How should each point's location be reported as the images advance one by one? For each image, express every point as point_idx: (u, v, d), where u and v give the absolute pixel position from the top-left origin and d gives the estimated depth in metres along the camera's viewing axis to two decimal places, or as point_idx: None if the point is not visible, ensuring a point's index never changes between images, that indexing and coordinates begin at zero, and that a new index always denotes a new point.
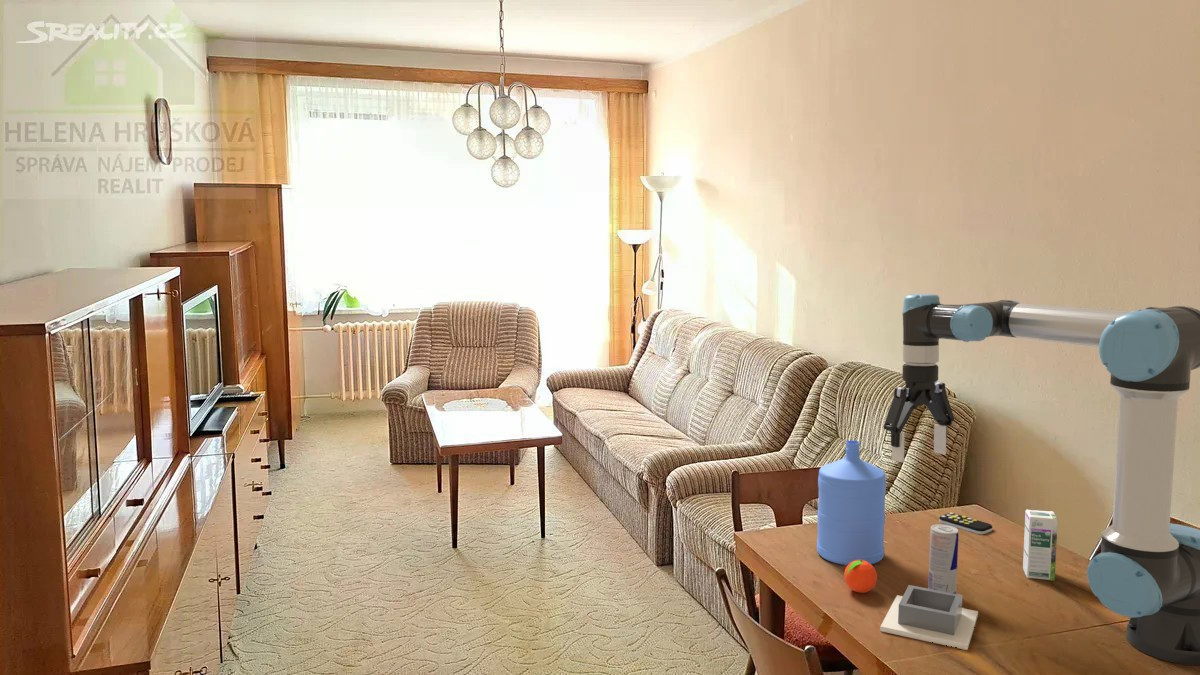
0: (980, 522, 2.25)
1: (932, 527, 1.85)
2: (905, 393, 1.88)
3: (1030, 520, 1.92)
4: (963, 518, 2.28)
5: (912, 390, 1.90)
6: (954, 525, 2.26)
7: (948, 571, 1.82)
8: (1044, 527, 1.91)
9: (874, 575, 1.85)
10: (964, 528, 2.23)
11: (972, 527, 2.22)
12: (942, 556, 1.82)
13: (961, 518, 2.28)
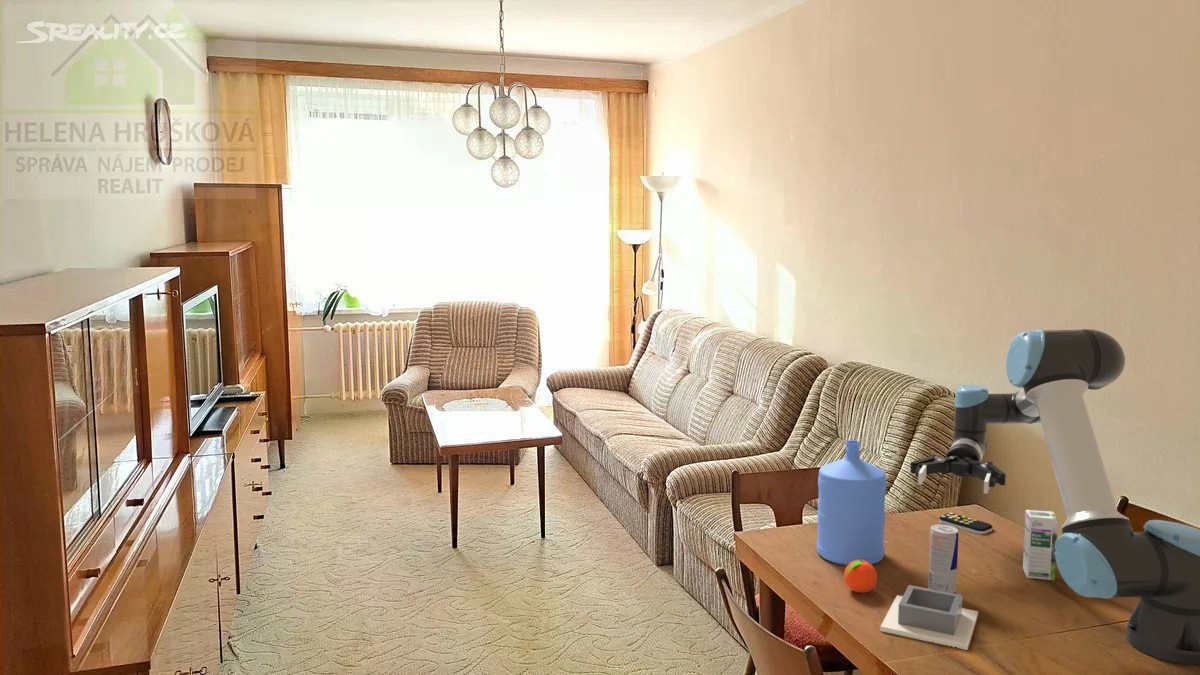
0: (980, 522, 2.25)
1: (932, 527, 1.85)
2: (933, 456, 2.07)
3: (1030, 520, 1.92)
4: (963, 518, 2.28)
5: None
6: (954, 525, 2.26)
7: (948, 571, 1.82)
8: (1044, 527, 1.91)
9: (874, 575, 1.85)
10: (964, 528, 2.23)
11: (972, 527, 2.22)
12: (942, 556, 1.82)
13: (961, 518, 2.28)
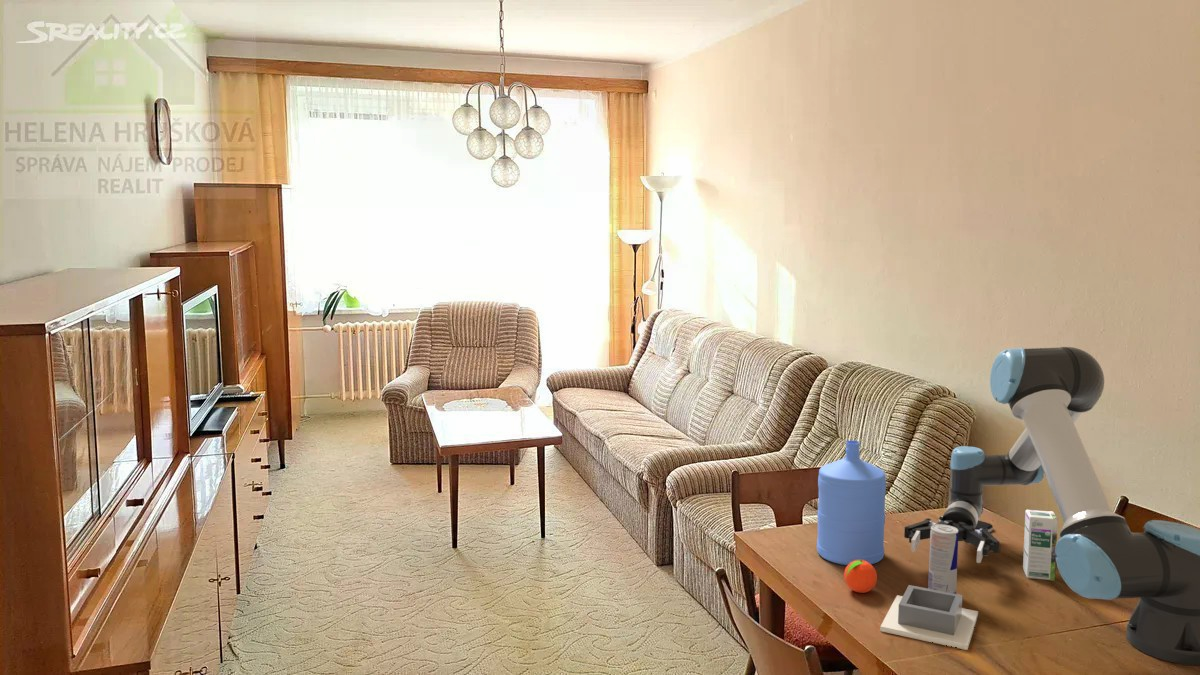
0: (980, 522, 2.25)
1: (932, 527, 1.85)
2: (928, 520, 2.05)
3: (1030, 520, 1.92)
4: None
5: None
6: None
7: (948, 571, 1.82)
8: (1044, 527, 1.91)
9: (874, 575, 1.85)
10: None
11: None
12: (942, 556, 1.82)
13: None
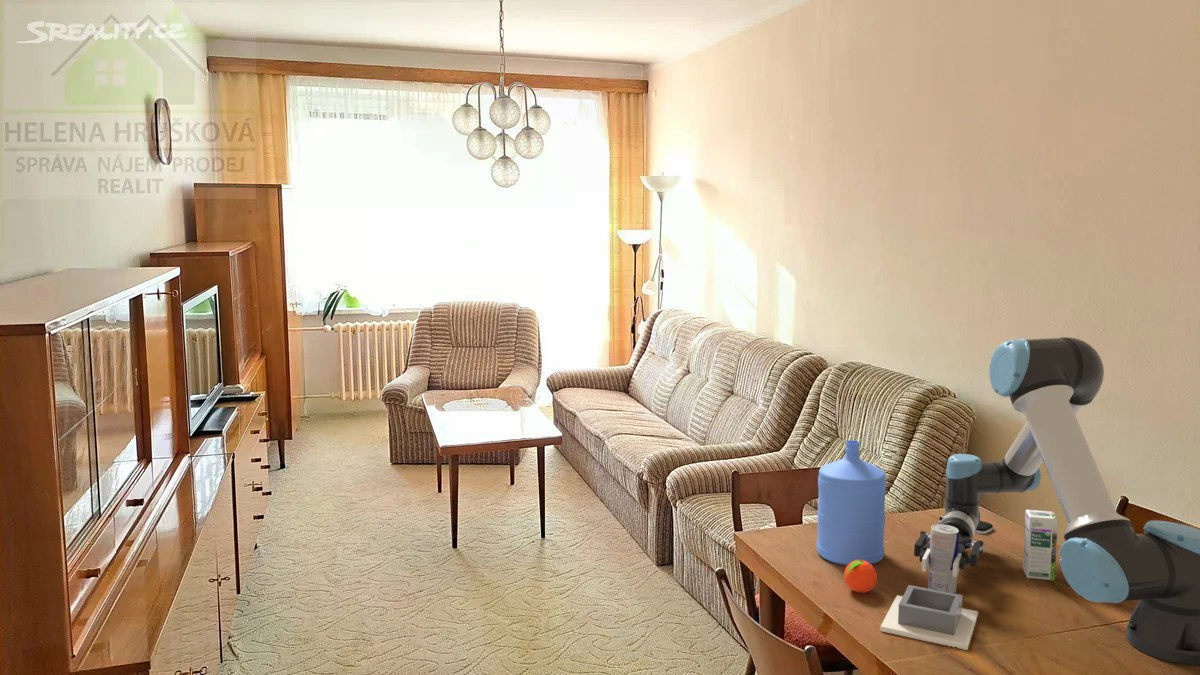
0: (980, 522, 2.25)
1: (932, 527, 1.85)
2: (924, 533, 1.97)
3: (1030, 520, 1.92)
4: None
5: None
6: None
7: (948, 571, 1.82)
8: (1044, 527, 1.91)
9: (874, 575, 1.85)
10: None
11: None
12: (943, 556, 1.82)
13: None
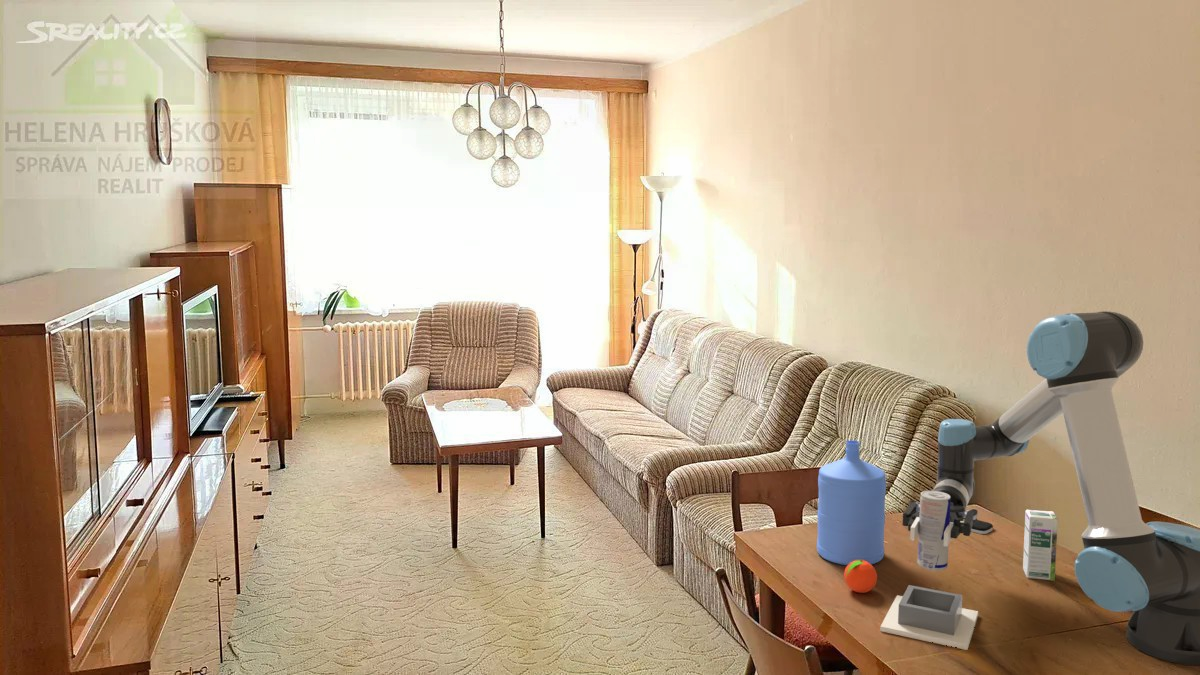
0: (980, 522, 2.25)
1: (922, 493, 1.70)
2: (913, 502, 1.82)
3: (1030, 520, 1.92)
4: (963, 518, 2.28)
5: None
6: None
7: (939, 540, 1.68)
8: (1044, 527, 1.91)
9: (874, 575, 1.85)
10: None
11: (974, 527, 2.22)
12: (933, 524, 1.68)
13: (961, 518, 2.28)
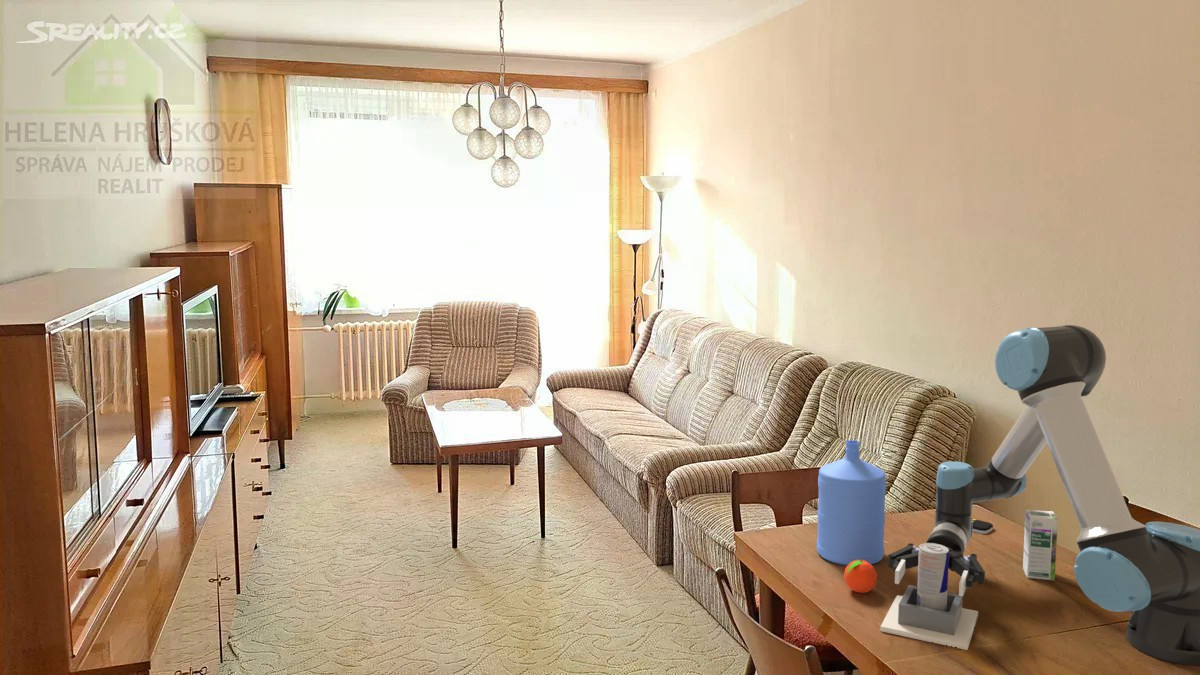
0: (980, 521, 2.25)
1: (921, 546, 1.72)
2: (911, 545, 1.84)
3: (1030, 520, 1.92)
4: None
5: None
6: None
7: (938, 593, 1.69)
8: (1044, 527, 1.91)
9: (874, 575, 1.85)
10: None
11: (975, 527, 2.22)
12: (931, 577, 1.69)
13: None
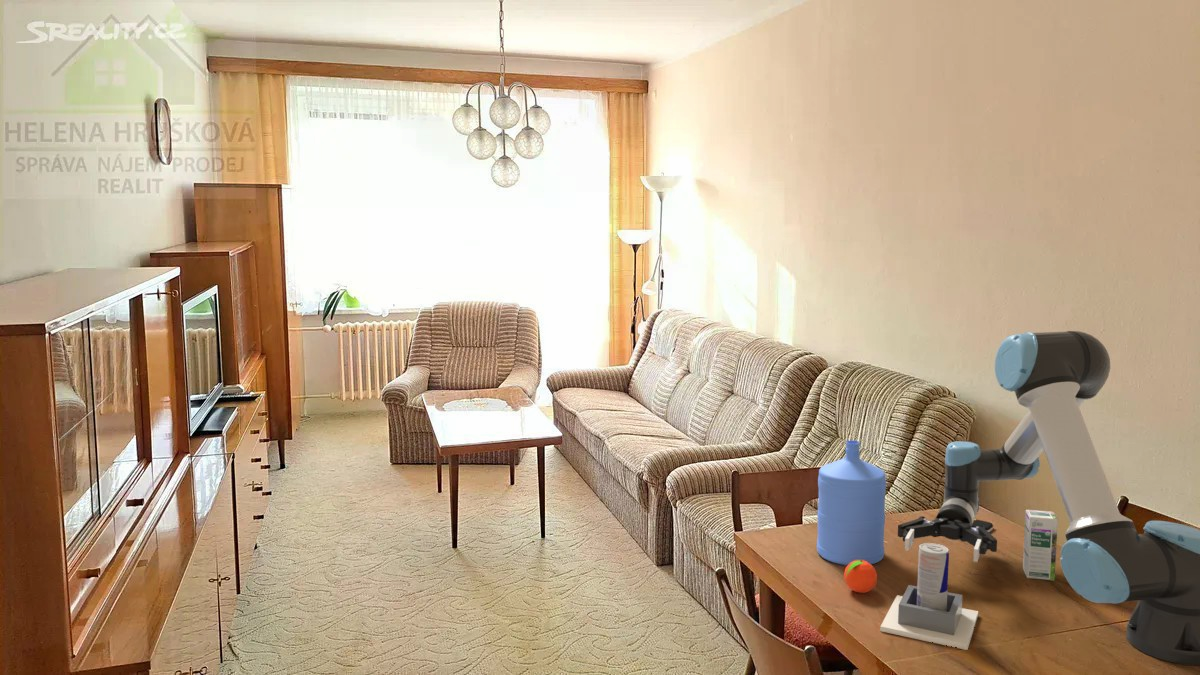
0: (980, 521, 2.25)
1: (921, 546, 1.72)
2: (922, 518, 1.97)
3: (1030, 520, 1.92)
4: None
5: (934, 519, 1.96)
6: None
7: (938, 593, 1.69)
8: (1044, 527, 1.91)
9: (874, 575, 1.85)
10: None
11: (975, 527, 2.22)
12: (931, 577, 1.69)
13: None
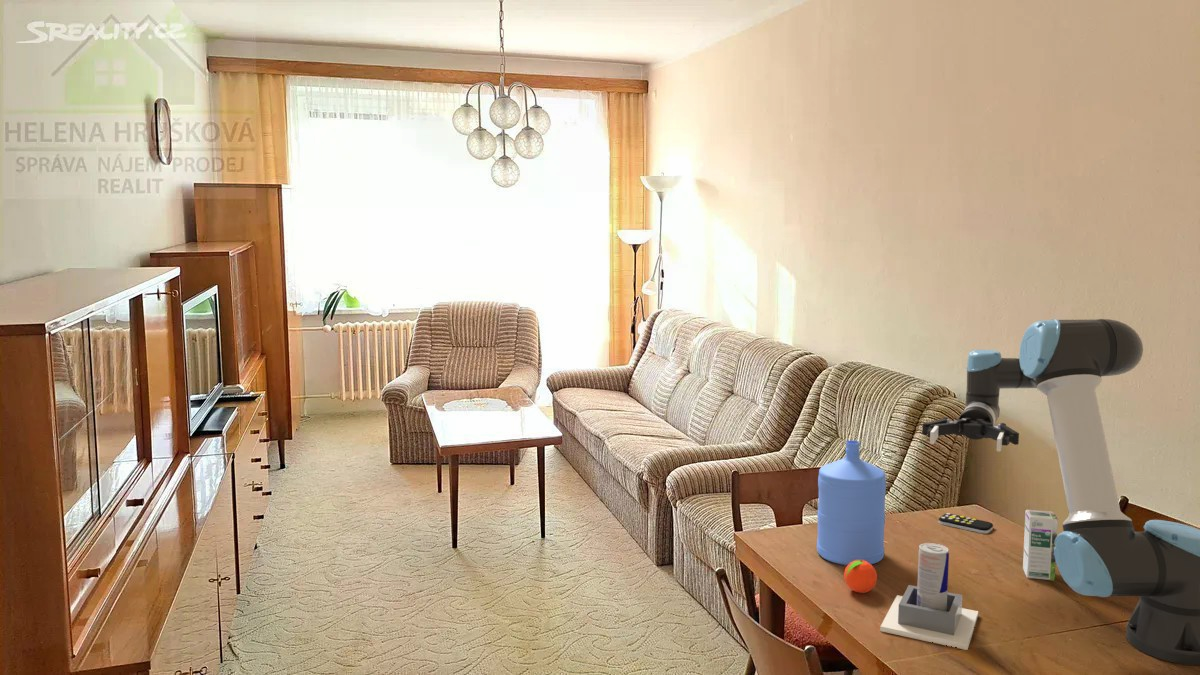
0: (980, 521, 2.26)
1: (921, 546, 1.72)
2: (946, 418, 2.04)
3: (1030, 520, 1.92)
4: (962, 518, 2.28)
5: None
6: (956, 526, 2.25)
7: (938, 593, 1.69)
8: (1044, 527, 1.91)
9: (874, 575, 1.85)
10: (967, 528, 2.23)
11: (976, 527, 2.22)
12: (931, 577, 1.69)
13: (960, 518, 2.28)
